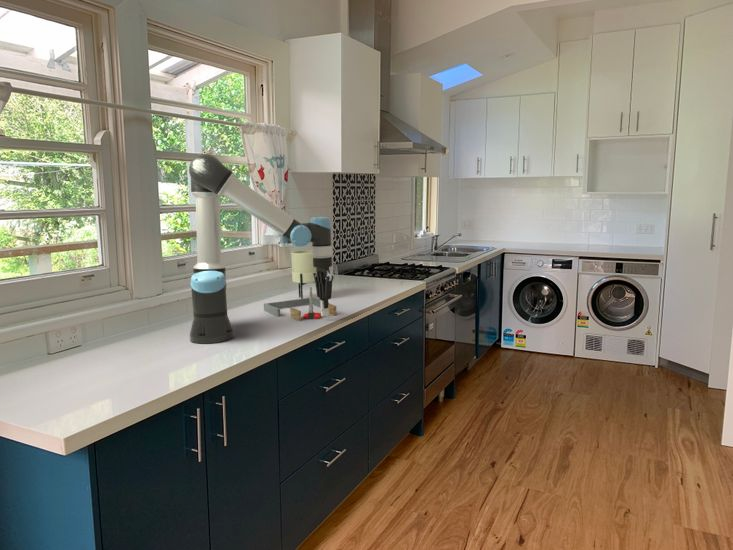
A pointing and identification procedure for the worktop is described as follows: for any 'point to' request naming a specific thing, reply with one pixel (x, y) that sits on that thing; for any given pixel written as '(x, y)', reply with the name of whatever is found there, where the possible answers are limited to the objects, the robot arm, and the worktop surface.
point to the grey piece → (289, 305)
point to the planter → (302, 268)
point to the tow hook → (311, 309)
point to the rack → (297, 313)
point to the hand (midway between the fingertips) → (325, 315)
